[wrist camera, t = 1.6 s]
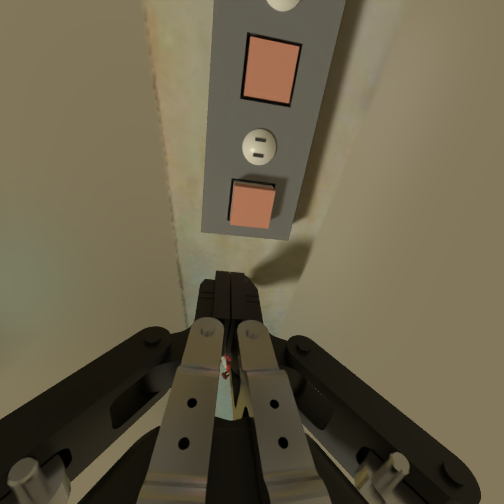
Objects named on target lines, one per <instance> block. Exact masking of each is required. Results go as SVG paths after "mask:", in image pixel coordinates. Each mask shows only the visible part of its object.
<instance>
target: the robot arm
mask: <svg viewBox="0 0 504 504" xmlns="http://www.w3.org/2000/svg"><path fill="white" fill-rule="evenodd" d="M224 353H225V357H231V365H230V370H229V376H230V387H231V398H232V410H233V421H229V420H225V419H222V418H218V417H215V408H216V400H217V391H218V382H219V374H220V363H221V357H224ZM169 388H171V392H170V395H169V399H168V402H167V405H166V409H165V412H164V416H163V419H162V423H161V426H158V427H156V428H155V429H153V430H151V431H149V432H148V433H146V434H145V435H144V436H142V437H141V438H140V439H139V440H137V441H136V442H135V443H134V444H133V445H132V446H131V447H130V448H129V449H128V450H127V452H126V453H125V454H124V455H123V456H122V457H121V458H120V459H119V460H118V461H117V462H116V463H115V464H114V465H113V466H112V467H111V468H110V469H109V471H108V472H107V473H106V474H105V475H104V476H103V477H102V478H101V479H100V480H99V481H98V482H97V483H96V484H95V485H94V486H93V488H92V489H91V490H90V491H89V492H88V493H87V494H86V495H85V496H84V497H83V498H82V499H81V500H80V501H79V502H78V503H77V504H479V502H480V500H481V491H480V488H479V485H478V483H477V481H476V479H475V477H474V475H473V474H472V472H471V471H470V470H469V468H468V467H467V466H466V465H465V464H464V463H463V462H462V461H461V460H460V459H459V458H458V457H457V456H455V455H454V454H453V453H452V452H450V451H449V450H448V449H447V448H446V447H444V446H443V445H442V444H440V443H439V442H438V441H437V440H436V439H434V438H433V437H431V436H430V435H429V434H428V433H427V432H426V431H424V430H423V429H422V428H421V427H419V426H418V425H417V424H416V423H414V422H413V421H412V420H411V419H409V418H408V417H407V416H406V415H404V414H403V413H402V412H401V411H399V410H398V409H397V408H396V407H395V406H393V405H392V404H391V403H389V402H388V401H387V400H386V399H384V398H383V397H382V396H381V395H379V394H378V393H377V392H376V391H374V390H373V389H372V388H371V387H370V386H368V385H367V384H366V383H365V382H363V381H362V380H361V379H360V378H358V377H357V376H356V375H355V374H354V373H352V372H351V371H350V370H349V369H347V368H346V367H345V366H343V365H342V364H341V363H340V362H339V361H337V360H336V359H335V358H334V357H332V356H331V355H330V354H329V353H327V352H326V351H325V350H324V349H322V348H321V347H320V346H319V345H317V344H316V343H315V342H314V341H312V340H311V339H309V338H308V337H305V336H301V335H296V336H292V337H291V338H289V340H288V341H286V340H283V339H280V338H277V337H275V336H273V335H271V334H270V333H269V331H268V329H267V327H266V326H265V325H264V324H263V319H262V313H261V307H260V301H259V295H258V289H257V288H256V287H255V285H254V284H253V283H245V277H244V273H237V272H226V271H216V276H215V280H211V279H205V280H204V281H203V282H202V283H201V284H200V289H199V295H198V302H197V308H196V314H195V320H194V323H193V324H192V325H191V326H190V327H189V328H188V329H186V330H184V331H182V332H178V333H173V334H170V332H169V331H168V330H167V329H165V328H162V327H157V326H155V327H148V328H145V329H143V330H141V331H139V332H138V333H136V334H135V335H133V336H132V337H130V338H129V339H127V340H125V341H124V342H122V343H121V344H119V345H117V346H116V347H114V348H113V349H111V350H110V351H108V352H106V353H105V354H103V355H102V356H100V357H98V358H97V359H95V360H94V361H92V362H91V363H89V364H87V365H86V366H84V367H83V368H81V369H80V370H78V371H77V372H75V373H73V374H72V375H70V376H68V377H67V378H65V379H64V380H62V381H61V382H59V383H57V384H56V385H54V386H53V387H51V388H49V389H48V390H46V391H45V392H43V393H42V394H40V395H38V396H37V397H35V398H34V399H32V400H31V401H29V402H27V403H26V404H24V405H23V406H21V407H20V408H18V409H17V410H15V411H13V412H12V413H10V414H9V415H7V416H5V417H4V418H2V419H1V420H0V504H67V502H68V499H69V496H70V492H71V483H70V482H71V481H72V480H74V479H75V478H76V477H77V476H78V475H79V474H80V473H81V472H82V471H83V470H84V469H85V468H86V467H88V466H89V465H90V464H91V463H92V462H93V461H94V460H95V459H96V458H97V457H98V456H99V455H100V454H101V453H103V452H104V451H105V450H106V449H107V448H108V447H109V446H110V445H111V444H112V443H113V442H114V441H115V440H117V439H118V438H119V437H120V436H121V435H122V434H123V433H124V432H125V431H126V430H127V429H128V428H129V427H131V426H132V425H133V424H134V423H135V422H136V421H137V420H138V419H139V418H140V417H141V416H142V415H143V414H144V413H146V412H147V411H148V410H149V409H150V408H151V407H152V406H153V405H154V404H155V403H156V402H157V401H158V400H160V399H161V398H162V397H163V396H164V395H165V394H166V393H167V391H168V390H169ZM315 388H316V389H317V390H318V391H319V392H318V391H317V390H316V389H315ZM302 424H303V425H304V426H305V427H306V428H307V429H308V430H309V431H310V432H311V433H312V434H313V435H314V437H315V438H316V439H317V440H318V441H319V442H320V443H321V444H322V445H323V446H324V447H325V448H326V449H327V450H328V452H329V453H330V454H331V455H332V456H333V457H334V458H335V459H336V460H337V461H338V462H339V463H340V464H341V465H342V467H343V468H344V469H345V470H346V471H347V472H348V473H349V474H350V475H351V476H352V477H353V478H354V481H355V487H354V485H353V484H352V483H351V482H350V481H349V480H348V479H347V477H346V476H345V475H344V474H343V473H342V472H341V470H340V469H339V468H338V467H337V466H336V465H335V464H334V462H333V461H332V460H331V459H330V458H329V457H328V456H327V454H326V453H325V452H324V451H323V450H322V449H321V448H320V447H319V445H318V444H317V443H316V442H315V441H314V440H313V439H312V438H311V437H310V436H309V435H308V434H306V433H305V432H304V429H303V425H302Z"/></svg>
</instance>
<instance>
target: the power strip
mask: <svg viewBox="0 0 504 504" xmlns="http://www.w3.org/2000/svg"><path fill="white" fill-rule="evenodd" d="M345 2H346V0H214V10H213V28H212V46H211V64H210V82H209V99H208V117H207V135H206V153H205V170H204V188H203V206H202V224H201V232H204V233H215V234H225V235H235V236H245V237H256V238H266V239H276V240H286V241H288V240H289V236H290V232H291V228H292V224H293V219H294V215H295V211H296V207H297V203H298V199H299V194H300V190H301V186H302V182H303V178H304V173H305V169H306V165H307V161H308V157H309V153H310V148H311V144H312V140H313V136H314V132H315V128H316V123H317V119H318V115H319V111H320V107H321V103H322V98H323V94H324V90H325V86H326V82H327V78H328V73H329V69H330V65H331V61H332V57H333V52H334V48H335V44H336V40H337V36H338V32H339V27H340V23H341V19H342V15H343V11H344V7H345ZM250 37H256V38H260V39H265V40H270V41H275V42H280V43H284V44H289V45H294V46H299V52H298V57H297V62H296V68H295V73H294V78H293V84H292V89H291V94H290V100H289V103H285V104H283V103H277V102H271V101H266V100H260V99H254V98H249V97H243V88H244V79H245V70H246V61H247V52H248V43H249V40H250ZM234 180H240V181H248V182H256V183H263V184H271V185H272V186H273V188H274V189H275V197H274V202H273V207H272V212H271V217H270V222H269V228H268V229H266V228H256V227H246V226H237V225H230V211H231V202H232V193H233V184H234Z"/></svg>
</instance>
